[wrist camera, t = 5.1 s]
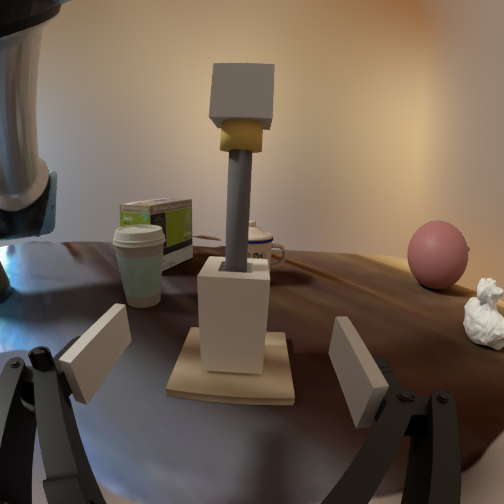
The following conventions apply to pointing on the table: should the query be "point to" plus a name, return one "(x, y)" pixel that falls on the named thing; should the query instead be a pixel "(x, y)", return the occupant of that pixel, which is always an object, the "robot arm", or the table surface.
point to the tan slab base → (234, 376)
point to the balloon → (437, 255)
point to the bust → (485, 316)
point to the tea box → (164, 225)
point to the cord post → (240, 142)
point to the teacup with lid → (262, 245)
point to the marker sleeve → (233, 316)
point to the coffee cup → (140, 263)
